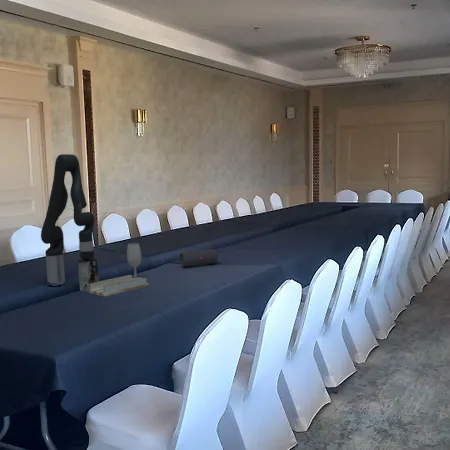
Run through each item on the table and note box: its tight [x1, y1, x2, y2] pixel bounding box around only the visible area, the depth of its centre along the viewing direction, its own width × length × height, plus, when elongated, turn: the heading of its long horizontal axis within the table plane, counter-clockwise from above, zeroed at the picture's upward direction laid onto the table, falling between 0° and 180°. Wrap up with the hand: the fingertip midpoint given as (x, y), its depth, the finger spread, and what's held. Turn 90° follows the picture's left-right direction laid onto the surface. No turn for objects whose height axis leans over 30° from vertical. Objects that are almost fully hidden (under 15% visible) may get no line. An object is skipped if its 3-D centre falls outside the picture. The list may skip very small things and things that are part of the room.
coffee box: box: [77, 258, 100, 292], centre depth 298 cm, size 9×6×16 cm
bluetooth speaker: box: [179, 248, 219, 268], centre depth 349 cm, size 23×9×10 cm, turn 114°
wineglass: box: [126, 242, 143, 280], centre depth 314 cm, size 9×9×21 cm
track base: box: [87, 274, 150, 298], centre depth 296 cm, size 16×28×4 cm, turn 134°
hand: (89, 279), depth 298 cm, fingers closed on coffee box, 8 cm apart
